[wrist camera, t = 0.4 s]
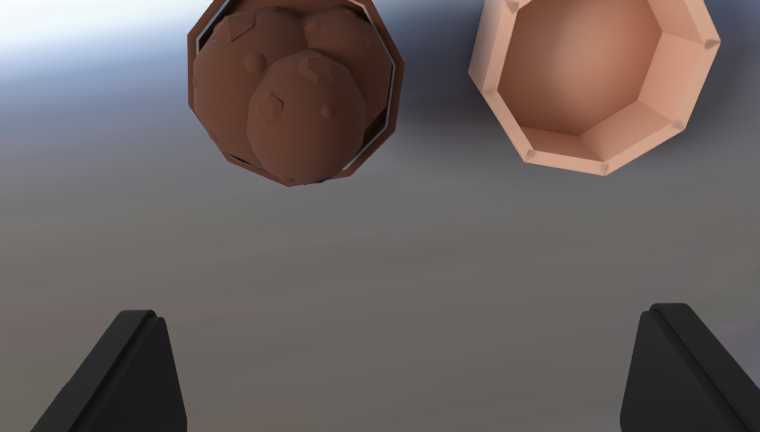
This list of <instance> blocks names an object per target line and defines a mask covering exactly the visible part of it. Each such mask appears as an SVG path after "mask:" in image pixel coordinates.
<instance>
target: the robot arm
mask: <svg viewBox="0 0 760 432" xmlns="http://www.w3.org/2000/svg"><path fill="white" fill-rule="evenodd" d="M620 426H621V430H622V432H760V389H759V388H758V387H757V386H756V385H755V383H754V382H753V381H752V380H751V379H750V378H749V376H748V375H747V374H746V373H745V372H744V370H743V369H742V368H741V367H740V366H739V365H738V363H737V362H736V361H735V360H734V359H733V357H732V356H731V355H730V354H729V353H728V351H727V350H726V349H725V348H724V347H723V346H722V344H721V343H720V342H719V341H718V340H717V338H716V337H715V336H714V335H713V334H712V333H711V331H710V330H709V329H708V328H707V327H706V325H705V324H704V323H703V322H702V321H701V319H700V318H699V317H698V316H697V315H696V314H695V312H694V311H693V310H692V309H691V308H690V307H689V306H688V305H687V304H684V303H655V304H653V305H652V306H651V307H650V310H649V311H644V312H643V313H642V314H641V317H640V321H639V326H638V331H637V335H636V340H635V345H634V350H633V355H632V360H631V365H630V369H629V374H628V379H627V384H626V389H625V394H624V399H623V403H622V408H621V413H620ZM31 432H187V417H186V412H185V408H184V403H183V399H182V394H181V390H180V385H179V381H178V376H177V372H176V367H175V363H174V358H173V353H172V349H171V344H170V340H169V335H168V331H167V326H166V322H165V320H164V318H162V317H157V316H156V313H155V312H154V311H153V310H124V311H121V312H120V313H119V314H118V315H117V317H116V318H115V319H114V321H113V322H112V323H111V325H110V326H109V327H108V329H107V330H106V332H105V333H104V334H103V336H102V337H101V338H100V340H99V341H98V342H97V344H96V345H95V347H94V348H93V349H92V351H91V352H90V353H89V355H88V356H87V358H86V359H85V360H84V362H83V363H82V364H81V366H80V367H79V368H78V370H77V371H76V373H75V374H74V375H73V377H72V378H71V379H70V381H69V382H68V383H67V384H66V385H65V386H64V387H63V388H62V390H61V391H60V392H59V394H58V395H57V396H56V398H55V399H54V400H53V402H52V403H51V405H50V406H49V407H48V409H47V410H46V411H45V413H44V414H43V415H42V417H41V418H40V419H39V421H38V422H37V424H36V425H35V426H34V428H33V429H32V430H31Z"/></svg>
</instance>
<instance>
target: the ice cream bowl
mask: <svg viewBox="0 0 760 432" xmlns="http://www.w3.org/2000/svg"><path fill="white" fill-rule="evenodd" d="M187 42H188V105H189V106H190V108H191V109H192V111H193V112H194V113H195V115H196V116H197V118H198V119H199V121H200V122H201V123H202V125H203V126H204V128H205V129H206V131H207V132H208V134H209V136H210V138H211V139H212V140H213V141H214V142H215V144H216V145H217V147H218V148H219V150H220V151H221V152H222V154H223V155H224V156H225V158H226V159H227V161H229V162H231V163H233V164H236V165H238V166H240V167H243V168H245V169H247V170H250V171H252V172H254V173H257V174H259V175H261V176H264V177H266V178H268V179H271V180H273V181H275V182H278V183H280V184H282V185H285V186H287V187H291V186H296V185H307V184H312V183H322V182H324V181H326V180H331V179H337V178H342V177H348V176H351V175H352V174H353V173H354V172H355V171H356V170H357V169H358V168H359V167H360V166H361V165H362V164H363V163H364V162H365V161H366V160H367V159H368V158H369V157H370V156H371V155H372V154H373V153H374V152H375V151H376V150H377V149H378V148H379V147H380V146H381V145H382V144H383V142H384V141H385V140H386V139H387V138H388V137H389V136H390V135H391V134H392V133H393V132H394V131H395V127H396V120H397V113H398V106H399V99H400V92H401V85H402V78H403V71H404V62H403V60H402V58H401V56H400V54H399V52H398V50H397V48H396V46H395V44H394V43H393V41H392V39H391V37H390V35H389V33H388V31H387V29H386V27H385V25H384V23H383V21H382V19H381V18H380V16H379V14H378V12H377V10H376V8H375V6H374V4H373V2H372V0H214V1H213V2H212V3H211V5H210V6H209V7H208V9H207V10H206V11H205V13H204V14H203V15H202V17H201V18H200V19H199V20H198V22H197V23H196V24H195V26H194V27H193V28H192V30H191V31H190V32H189V34H188V35H187Z"/></svg>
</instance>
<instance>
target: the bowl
mask: <svg viewBox="0 0 760 432" xmlns="http://www.w3.org/2000/svg"><path fill="white" fill-rule="evenodd" d="M720 43H721V40H720V38H719V36H718V33H717V31H716V29H715V26H714V24H713V22H712V20H711V17H710V15H709V13H708V10H707V8H706V6H705V4H704V1H703V0H485V2H484V6H483V10H482V14H481V19H480V23H479V27H478V31H477V36H476V40H475V44H474V48H473V52H472V57H471V61H470V65H469V69H468V74H469V75H470V77H471V78H472V80H473V81H474V83H475V85H476V86H477V88H478V89H479V91H480V92H481V94H482V96H483V97H484V99H485V100H486V102H487V104H488V105H489V107H490V108H491V110H492V112H493V113H494V115H495V116H496V118H497V119H498V121H499V123H500V124H501V126H502V127H503V129H504V131H505V132H506V134H507V136H508V137H509V139H510V140H511V142H512V143H513V145H514V146H515V148H516V150H517V151H518V153H519V154H520V156H521V157H522V159H523V161H524V162H528V163H533V164H539V165H545V166H551V167H557V168H563V169H568V170H574V171H580V172H586V173H592V174H598V175H603V176H606V175H608V174H609V173H611V172H613V171H614V170H616V169H618V168H620V167H621V166H623V165H625V164H626V163H628V162H630V161H632V160H633V159H635V158H637V157H638V156H640V155H642V154H644V153H645V152H647V151H649V150H650V149H652V148H654V147H656V146H657V145H659V144H661V143H663V142H664V141H666V140H668V139H669V138H671V137H673V136H675V135H676V134H678V133H680V132H681V131H683V130H685V127H686V125H687V123H688V120H689V118H690V115H691V113H692V111H693V108H694V106H695V103H696V101H697V99H698V96H699V94H700V91H701V89H702V86H703V84H704V82H705V79H706V77H707V74H708V72H709V70H710V67H711V65H712V62H713V60H714V58H715V55H716V53H717V50H718V48H719V46H720Z"/></svg>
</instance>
